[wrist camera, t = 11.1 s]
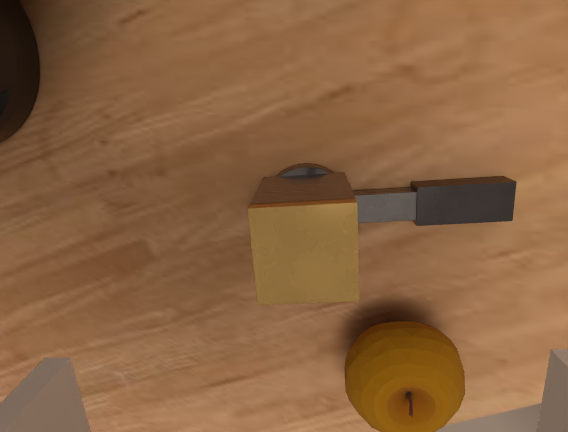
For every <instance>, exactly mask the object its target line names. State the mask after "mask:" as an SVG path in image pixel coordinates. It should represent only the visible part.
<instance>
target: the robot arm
mask: <svg viewBox="0 0 568 432" xmlns="http://www.w3.org/2000/svg"><path fill="white" fill-rule="evenodd" d="M38 81H39V61H38V53H37V47H36V42H35V38H34V35H33V32H32V29H31V26H30V23H29V21H28V18H27V16H26V14H25V12H24V10H23V8H22V6H21V4H20V3H19V1H18V0H0V142H1V141H3V140H5V139H6V138H8V137H9V136H10V135H12V134H13V133H14V132H15V131H16V130H17V129H18V128H19V127H20V126H21V125H22V123H23V122H24V121H25V119H26V118H27V116H28V114H29V112H30V110H31V108H32V106H33V103H34V100H35V97H36V93H37V88H38ZM0 432H91V431H90V427H89V423H88V420H87V416H86V413H85V409H84V405H83V402H82V398H81V394H80V391H79V387H78V384H77V380H76V376H75V373H74V369H73V365H72V362H71V358H44V359H43V360H42V361H41V362H40V364H39V365H38V366H37V367H36V368H35V369H34V370H33V371H32V372H31V373H30V374H29V375H28V376H27V377H26V378H25V379H24V380H23V381H22V382H21V383H20V384H19V385H18V386H17V387H16V388H15V389H14V390H13V391H12V392H11V393H10V394H9V395H8V396H7V397H6V398H5V399H4V400H3V402H2V403H1V404H0ZM537 432H568V349H551V352H550V358H549V363H548V369H547V375H546V381H545V387H544V392H543V398H542V404H541V410H540V416H539V421H538V427H537Z"/></svg>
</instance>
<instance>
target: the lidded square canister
mask: <svg viewBox="0 0 568 432" xmlns="http://www.w3.org/2000/svg"><path fill="white" fill-rule="evenodd" d="M247 210H248V219H249V228H250V237H251V246H252V256H253V265H254V274H255V283H256V292H257V301H258V305H270V304H297V303H325V302H352V301H360V300H359V254H358V208H357V200H356V198H355V196H354V194H353V191H352V189H351V187H350V184H349V182H348V180H347V177H346V175H345V173H344V172H343V173H327V174H311V175H295V176H280V177H264V178H263V180H262V182H261V184H260V186H259V188H258V190H257V192H256V193H255V195H254V197H253V199H252V201H251V203H250V205H249V207H248V208H247Z"/></svg>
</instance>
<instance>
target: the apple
mask: <svg viewBox="0 0 568 432" xmlns="http://www.w3.org/2000/svg"><path fill="white" fill-rule="evenodd" d="M345 386H346V393H347V395H348V398H349V400H350V402H351V403H352V405H353V406H354V408H355V409H356V410H357V412H358V413H359V415H360V416H361V417H362V418H363V419H364V420H365V421H366V422H367V423H368V424H369V425H370V426H371V427H372V428H374V429H376V430H378V431H380V432H435V431H437V430H439V429H440V428H442V427H444V426H445V425H446V423H447V422H448V421H449V420H450V419H451V418H452V416H453V415H454V414H455V413H456V412H457V411H458V410H459V408H460V405H461V403H462V400H463V397H464V395H465V376H464V369H463V366H462V363H461V360H460V357H459V354H458V351H457V348H456V347H455V345H454V344H453V343H452V341H451V340H450V339H449V338H448V337H446V336H445V335H444V334H443V333H441V332H440V331H439V330H437V329H436V328H433V327H430V326H427V325H424V324H421V323H419V322H407V321H395V322H387V323H381V324H378V325H375V326H372V327H370V328H369V329H367V330H366V331H364V332H363V333H361V334H360V336H359V337H358V338H357V340H356V341H355V343H354V344H353V346H352V347H351V349H350V351H349V353H348V355H347V357H346V361H345Z"/></svg>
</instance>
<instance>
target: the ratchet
mask: <svg viewBox="0 0 568 432" xmlns="http://www.w3.org/2000/svg"><path fill="white" fill-rule="evenodd" d="M327 173H334V172H333V171H331V170H330V169H328V168H326V167H324V166H321V165H317V164H311V163H303V164H297V165H293V166H291V167H288V168H286V169H284V170H283V171H281V172H280V173H279V174H278V175H277V176H276V177H280V176H295V175H311V174H327ZM515 190H516V181H514V180H511V179H509V178H507V177H504V176H496V177H479V178H463V179H446V180H429V181H413V182H411V187H405V188H388V189H371V190H354V191H353V194H354V196H355V198H356V200H357V208H358V223H368V222H387V221H407V220H412V221H413V222H414V223H415V224H416V226H422V225H442V224H462V223H482V222H501V221H512V219H513V210H514V200H515Z"/></svg>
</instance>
